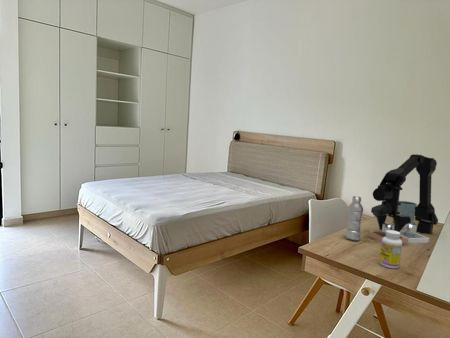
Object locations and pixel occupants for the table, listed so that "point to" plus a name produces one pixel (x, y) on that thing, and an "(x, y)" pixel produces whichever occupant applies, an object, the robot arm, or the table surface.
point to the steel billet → (386, 228)
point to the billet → (410, 230)
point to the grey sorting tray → (401, 237)
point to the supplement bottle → (391, 249)
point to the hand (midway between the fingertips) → (387, 232)
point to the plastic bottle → (354, 219)
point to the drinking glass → (407, 209)
